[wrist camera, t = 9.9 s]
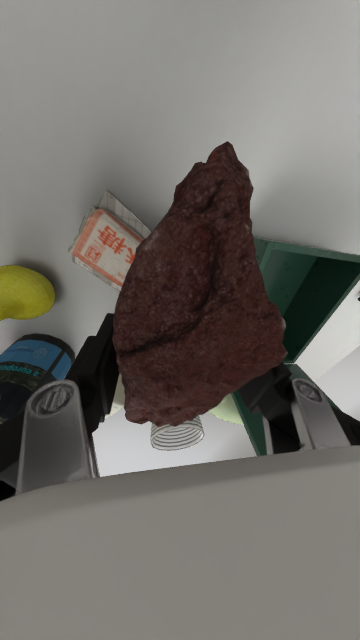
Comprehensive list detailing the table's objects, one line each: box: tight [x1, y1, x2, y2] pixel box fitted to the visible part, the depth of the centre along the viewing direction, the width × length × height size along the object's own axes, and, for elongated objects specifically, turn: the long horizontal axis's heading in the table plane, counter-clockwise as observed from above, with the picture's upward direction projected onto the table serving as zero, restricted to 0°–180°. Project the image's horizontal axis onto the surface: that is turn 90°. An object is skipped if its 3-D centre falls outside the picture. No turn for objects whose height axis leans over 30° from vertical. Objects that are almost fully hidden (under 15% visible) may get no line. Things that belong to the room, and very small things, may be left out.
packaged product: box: [68, 189, 152, 291], centre depth 22 cm, size 18×5×10 cm
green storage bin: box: [254, 237, 360, 364], centre depth 27 cm, size 20×16×8 cm
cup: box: [150, 415, 204, 451], centre depth 30 cm, size 8×8×16 cm
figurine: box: [209, 394, 243, 424], centre depth 43 cm, size 10×16×10 cm, turn 84°
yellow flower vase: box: [0, 265, 55, 321], centre depth 18 cm, size 7×7×12 cm
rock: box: [112, 141, 288, 427], centre depth 7 cm, size 11×6×8 cm
